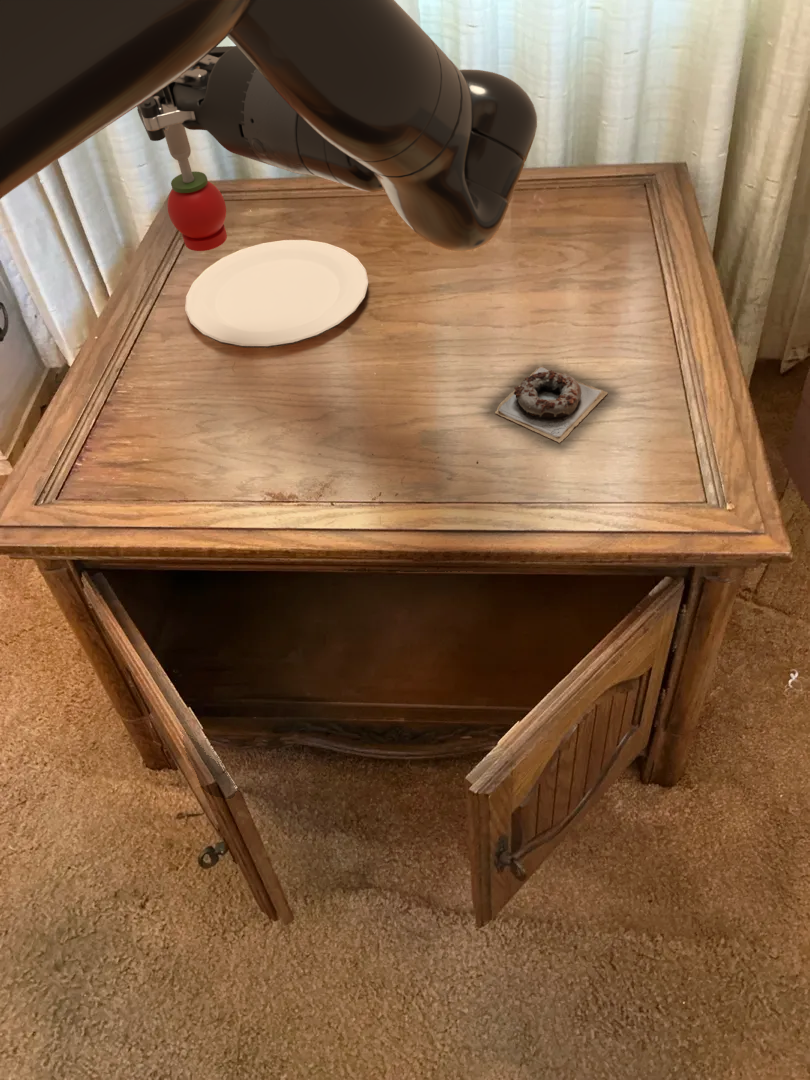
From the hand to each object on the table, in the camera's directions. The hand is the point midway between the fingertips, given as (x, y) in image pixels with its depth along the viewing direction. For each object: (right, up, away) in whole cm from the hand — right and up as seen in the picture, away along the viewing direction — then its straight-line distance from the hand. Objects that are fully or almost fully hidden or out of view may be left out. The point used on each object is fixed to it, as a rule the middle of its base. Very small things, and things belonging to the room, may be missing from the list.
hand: (135, 70), depth 70 cm
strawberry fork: (+4, -11, +10) cm, 15 cm away
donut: (+36, -26, +12) cm, 46 cm away
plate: (+8, -12, +27) cm, 30 cm away
